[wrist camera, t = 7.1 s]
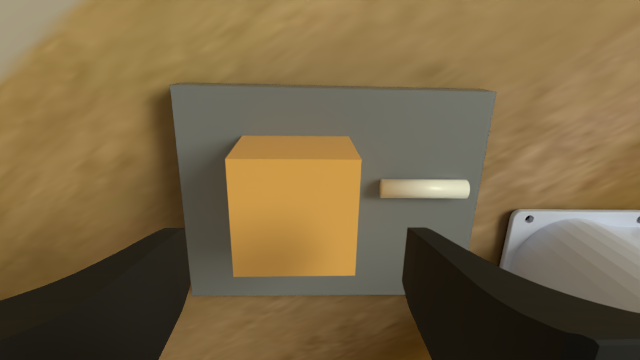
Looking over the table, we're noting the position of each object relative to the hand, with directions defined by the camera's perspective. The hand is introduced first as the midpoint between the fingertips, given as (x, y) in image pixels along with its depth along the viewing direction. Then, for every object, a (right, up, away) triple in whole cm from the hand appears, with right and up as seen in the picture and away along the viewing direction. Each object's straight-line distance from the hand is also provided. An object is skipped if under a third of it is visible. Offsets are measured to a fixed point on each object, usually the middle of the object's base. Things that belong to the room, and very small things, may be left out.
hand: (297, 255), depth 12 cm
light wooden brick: (-1, +2, +8) cm, 8 cm away
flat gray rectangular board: (+1, +2, +9) cm, 10 cm away
